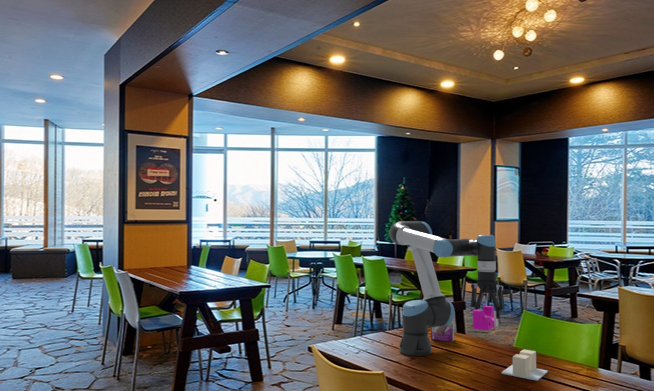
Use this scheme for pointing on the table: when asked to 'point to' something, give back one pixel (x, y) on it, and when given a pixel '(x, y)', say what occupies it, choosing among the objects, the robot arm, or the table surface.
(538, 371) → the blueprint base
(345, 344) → the table surface
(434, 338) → the candy bar box
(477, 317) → the toy block
